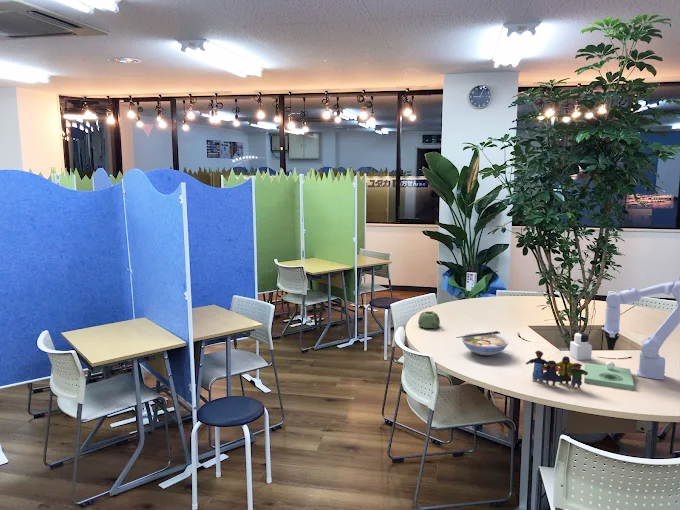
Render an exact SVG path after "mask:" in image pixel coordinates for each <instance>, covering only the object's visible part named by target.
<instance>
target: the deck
mask: <svg viewBox="0 0 680 510" xmlns="http://www.w3.org/2000/svg"><path fill="white" fill-rule="evenodd" d="M584 370H585V371H586V372H588V374H587V375H584V374H583V378H584V382H583V383H584V384H592V385H597V386H602V387H603V386H605V387H609V388H610V387H611V388H618V389H624V390H630V391H634V387H635V384H634V379H633V375H632V371H631V369H630V368H624V367H617V366H615V367H614V369H608V368H607V367H606V364H605V365H603V364H596V363H589V362H584Z"/></svg>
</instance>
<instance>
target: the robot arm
mask: <svg viewBox="0 0 680 510" xmlns="http://www.w3.org/2000/svg"><path fill="white" fill-rule="evenodd" d="M659 294H665V295H667V296H671V294H672V296H673V297H674V299H675V300H676V302H677V303H676V304H677V305H676V306H675V308H674V309H673V311H671V313H670V314H669V315H668V316H667V318H665V320H663V322H662V323H661V325H660V326H659V327H658V328H657V330H656V331H655V332H654V333H652V334H651V336H650V337H648V338H645V339H644V340H643V341H642V344H641V349H640V351H641V352H640V353H639V361H638V362H639V365H638V369H636V372H637V376H638V377H641V378H647V379H655V380H660V381H661V380H662V381H663V380H665V373H666V369H665V368H666V359H665V358H666V357H663V356H660V354H659V351H660V348H661V347H662V345H663V344H664V342H665V341H666V340H667V338H669V336H670V335H671V334H672V333H673V332H674V331H675V329H676V328H677V327H678V326H679V325H680V280H675V281H674V280H673V281H668V282H662V283H659V284H655V285H652V286H649V287H645V288H642V289H638V288H636V287H633V288H632V287H627V289H624V290H621V291H620V290H616V292H611V293H609V294H607V297H606V298H605V302H606V308H605V316H604V317H605V318H604V319H605V320H604V327H603V326H602V327H601V330H602V331H603V332H604V337H605V339H606V345H607V350H608V351H614V350H615V347H616V344H617V341H618V340H619V338H620V335H619V332H620V331H621V330H620V322H621V321H620V320H621V305H626V304H631V303H634V302H635V303H636V302H639V301H640V300H641V299H642V298H644V297H647V296H649V297H650V296H653V295H659Z"/></svg>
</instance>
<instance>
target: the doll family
mask: <svg viewBox="0 0 680 510" xmlns="http://www.w3.org/2000/svg"><path fill="white" fill-rule="evenodd" d="M534 353H535V355H536V357H535V358H531V359H530V360H528V361H527V362H525V364H526V365H529V364H534V365H533V371H532V380H531V381H532V382H534V383H535V382H536V383H537V382H538V383H540V384H544V387H547V388H548V387H550V384H549V383H550V382H552V383H551V387H552V388H554V389H555V388H556V389H557V385H556V383H558V384H559V385H560V386H566V387H569V390H571V391H574V390H577V391H581V390H582V388H581V386H582V385H583V381H582V380H583V378H582V377H583V376H584V375H587V374H588V372H586V371H585V369H582V366H583V365H582V363H578V362H575V363H573V362H570V361H571V359H570V357H569V356H566V355H565V356H563V357H562V358H561V359H562V360H561V361H559V362H556V361H555V360H548V361H547V360H546V359H543V358H542V357H543V355H544V352H543V351H541V350H537V351H535V352H534ZM557 372H558V373H557ZM544 382H545V383H544ZM569 382H570V383H569Z"/></svg>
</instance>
